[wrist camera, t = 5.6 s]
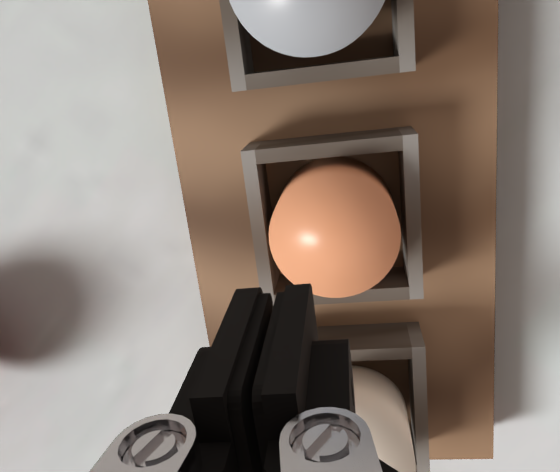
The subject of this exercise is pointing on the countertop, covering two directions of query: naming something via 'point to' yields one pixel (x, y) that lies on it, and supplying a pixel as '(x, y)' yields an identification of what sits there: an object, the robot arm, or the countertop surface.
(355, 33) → the grey button
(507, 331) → the countertop surface
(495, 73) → the button board
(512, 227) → the countertop surface
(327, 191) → the terracotta button
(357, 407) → the cream button
